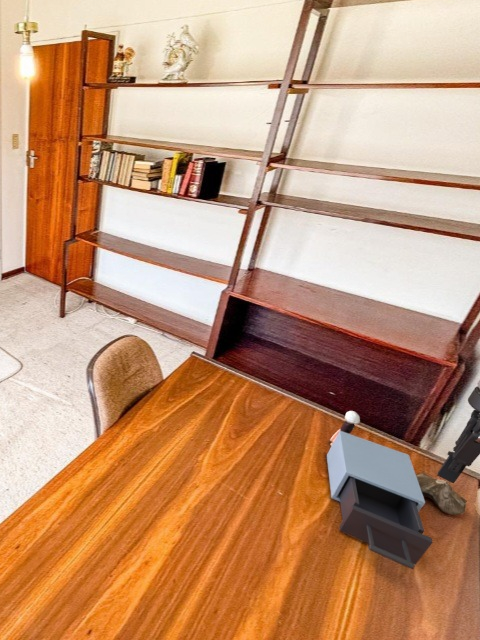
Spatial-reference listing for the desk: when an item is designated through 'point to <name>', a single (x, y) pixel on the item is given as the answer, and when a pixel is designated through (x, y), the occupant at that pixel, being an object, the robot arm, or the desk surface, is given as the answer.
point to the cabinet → (372, 467)
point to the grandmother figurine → (347, 424)
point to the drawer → (383, 522)
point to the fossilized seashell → (441, 494)
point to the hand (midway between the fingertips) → (445, 477)
